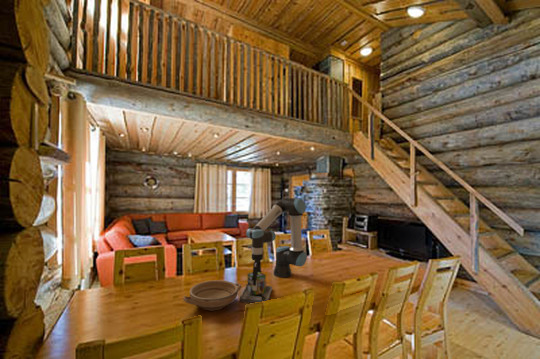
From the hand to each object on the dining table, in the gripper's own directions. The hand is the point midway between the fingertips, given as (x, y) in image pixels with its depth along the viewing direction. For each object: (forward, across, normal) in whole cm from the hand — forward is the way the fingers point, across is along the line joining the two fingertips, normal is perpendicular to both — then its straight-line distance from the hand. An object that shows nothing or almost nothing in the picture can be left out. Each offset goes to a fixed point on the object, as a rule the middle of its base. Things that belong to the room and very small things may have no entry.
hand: (256, 286), depth 162 cm
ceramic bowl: (+7, +17, -23) cm, 29 cm away
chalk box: (+4, 0, 0) cm, 4 cm away
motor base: (+7, -3, 0) cm, 7 cm away
